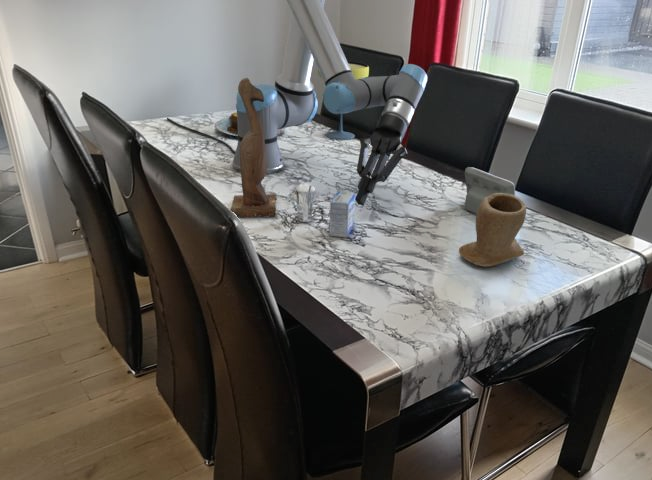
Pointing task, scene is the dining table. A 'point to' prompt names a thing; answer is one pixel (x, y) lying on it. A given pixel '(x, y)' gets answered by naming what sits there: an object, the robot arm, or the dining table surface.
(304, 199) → the milkshake
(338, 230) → the medicine box
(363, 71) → the cocktail glass
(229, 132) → the food on plate
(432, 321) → the dining table surface
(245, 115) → the robot arm
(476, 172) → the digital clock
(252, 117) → the bird sculpture
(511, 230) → the stone cup
